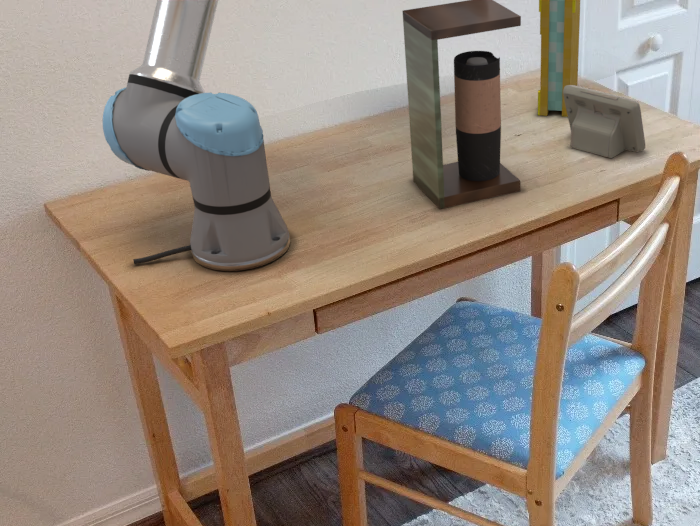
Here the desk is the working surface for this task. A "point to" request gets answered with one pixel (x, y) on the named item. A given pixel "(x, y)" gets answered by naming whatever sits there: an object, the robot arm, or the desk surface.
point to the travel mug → (477, 114)
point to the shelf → (425, 97)
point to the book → (558, 52)
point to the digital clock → (603, 121)
